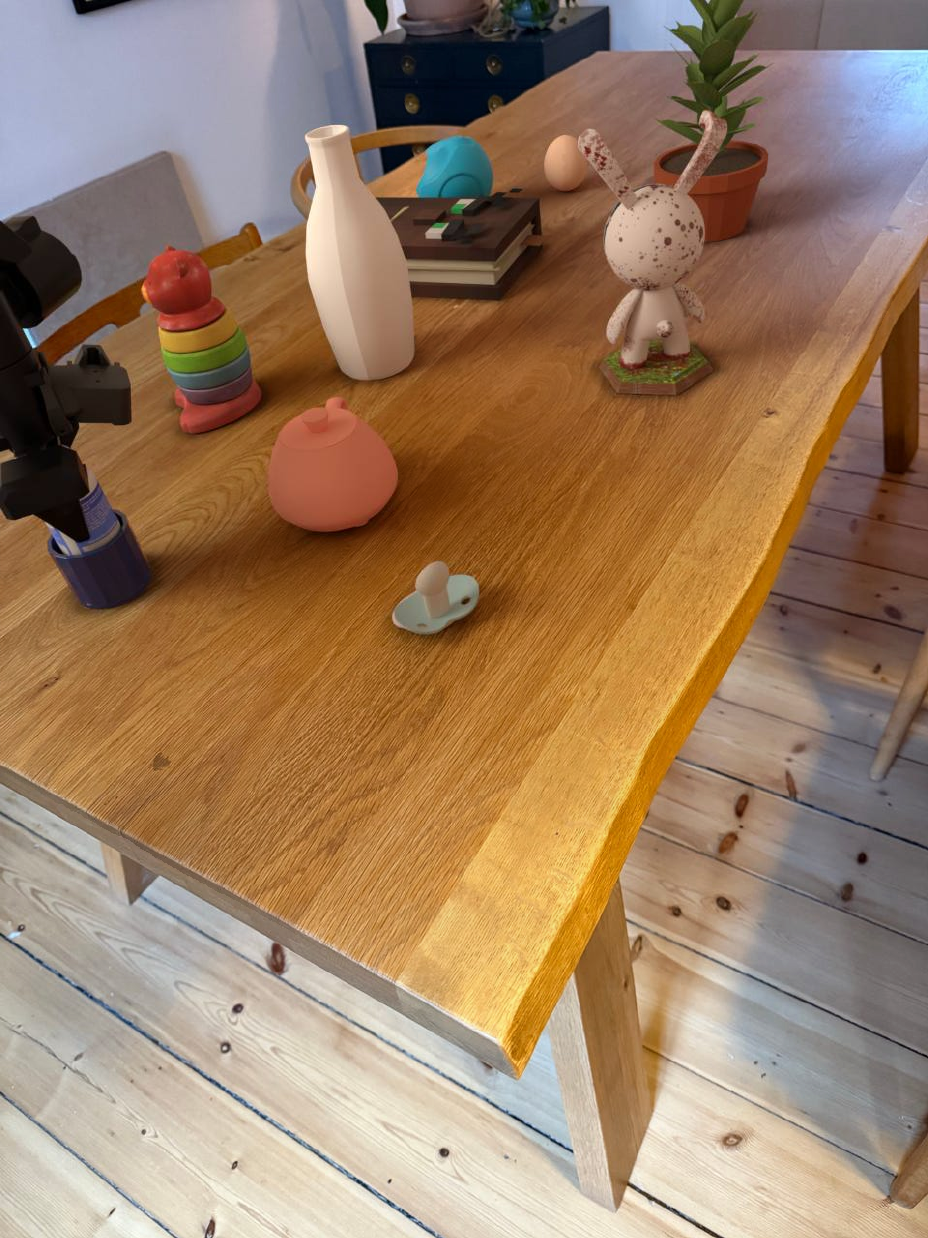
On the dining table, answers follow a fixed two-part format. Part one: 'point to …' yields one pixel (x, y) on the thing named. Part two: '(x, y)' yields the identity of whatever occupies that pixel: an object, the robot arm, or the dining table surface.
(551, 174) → the egg
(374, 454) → the sugar bowl
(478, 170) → the blue rounded dome
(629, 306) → the figurine
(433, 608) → the pacifier
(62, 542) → the pill bottle
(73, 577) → the dark blue cup
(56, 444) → the robot arm
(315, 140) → the bottle
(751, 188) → the potted plant
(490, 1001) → the dining table surface
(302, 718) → the dining table surface
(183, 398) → the stacking bear
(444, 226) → the decorative book
